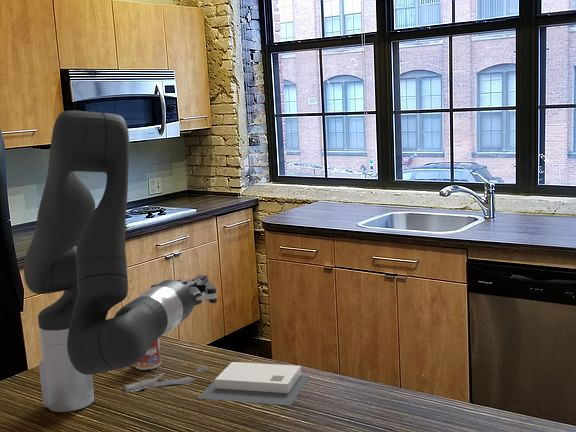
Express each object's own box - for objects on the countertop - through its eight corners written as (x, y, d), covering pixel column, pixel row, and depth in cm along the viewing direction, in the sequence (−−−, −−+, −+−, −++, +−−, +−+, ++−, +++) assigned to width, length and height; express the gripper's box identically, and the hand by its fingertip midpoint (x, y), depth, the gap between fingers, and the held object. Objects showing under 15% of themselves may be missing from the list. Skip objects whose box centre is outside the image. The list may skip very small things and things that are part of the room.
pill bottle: (134, 372, 155) (129, 325, 153) (135, 362, 161) (131, 318, 159) (161, 368, 156) (157, 323, 154) (161, 359, 162) (157, 315, 160)
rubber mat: (197, 401, 137) (196, 398, 137) (224, 373, 151) (224, 370, 151) (290, 408, 131) (290, 405, 131) (310, 378, 146) (310, 375, 146)
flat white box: (214, 378, 141) (232, 361, 150) (215, 388, 141) (232, 370, 151) (287, 383, 136) (300, 365, 146) (288, 393, 137) (301, 375, 146)
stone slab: (207, 363, 155) (208, 377, 145) (208, 371, 155) (209, 386, 145) (127, 374, 153) (122, 389, 143) (128, 382, 153) (123, 397, 143)
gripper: (197, 288, 106) (235, 261, 123) (122, 284, 110) (170, 259, 126) (199, 333, 108) (237, 301, 124) (126, 328, 111) (172, 297, 128)
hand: (203, 280), depth 125 cm, fingers closed
